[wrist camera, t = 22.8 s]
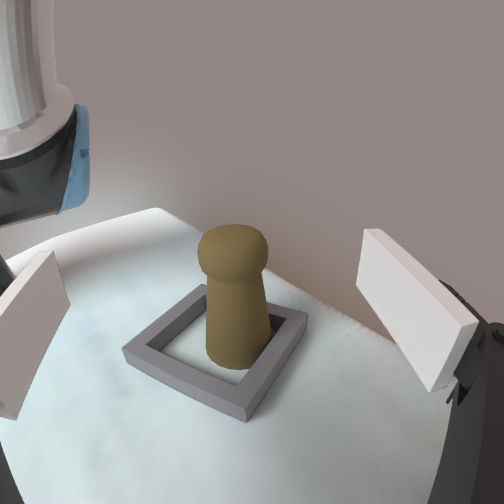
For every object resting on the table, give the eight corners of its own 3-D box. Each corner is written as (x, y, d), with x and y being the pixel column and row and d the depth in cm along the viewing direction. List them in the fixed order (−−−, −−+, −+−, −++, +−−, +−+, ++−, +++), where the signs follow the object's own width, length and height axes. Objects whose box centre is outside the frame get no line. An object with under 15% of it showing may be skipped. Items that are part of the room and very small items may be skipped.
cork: (198, 333, 29) (182, 224, 24) (258, 318, 31) (254, 211, 26) (217, 377, 24) (199, 256, 19) (285, 357, 26) (288, 238, 21)
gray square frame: (126, 362, 25) (121, 347, 24) (203, 297, 35) (201, 283, 34) (246, 422, 20) (245, 408, 19) (306, 328, 29) (308, 313, 29)
